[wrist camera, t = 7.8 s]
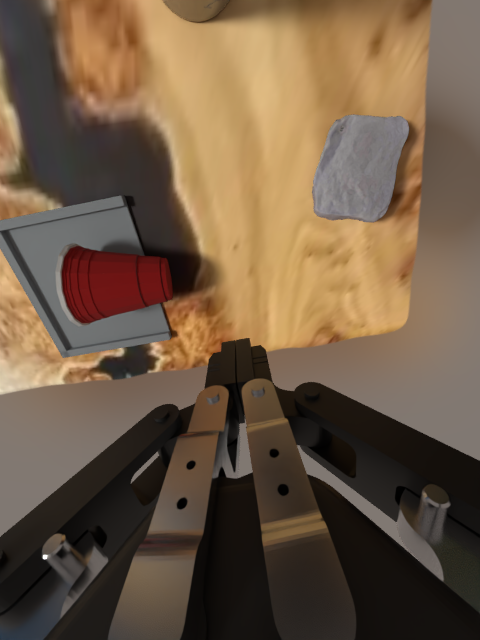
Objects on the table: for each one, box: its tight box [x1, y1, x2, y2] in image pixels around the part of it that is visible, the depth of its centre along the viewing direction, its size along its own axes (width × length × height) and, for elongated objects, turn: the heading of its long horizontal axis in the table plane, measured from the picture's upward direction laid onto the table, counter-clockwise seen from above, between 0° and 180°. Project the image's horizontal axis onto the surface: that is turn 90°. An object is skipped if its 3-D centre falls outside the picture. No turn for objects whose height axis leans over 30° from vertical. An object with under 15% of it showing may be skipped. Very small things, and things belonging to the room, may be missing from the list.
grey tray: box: [0, 196, 172, 358], centre depth 39 cm, size 19×22×1 cm
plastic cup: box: [55, 243, 173, 326], centre depth 34 cm, size 11×11×12 cm
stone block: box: [312, 115, 409, 222], centre depth 33 cm, size 12×5×10 cm
